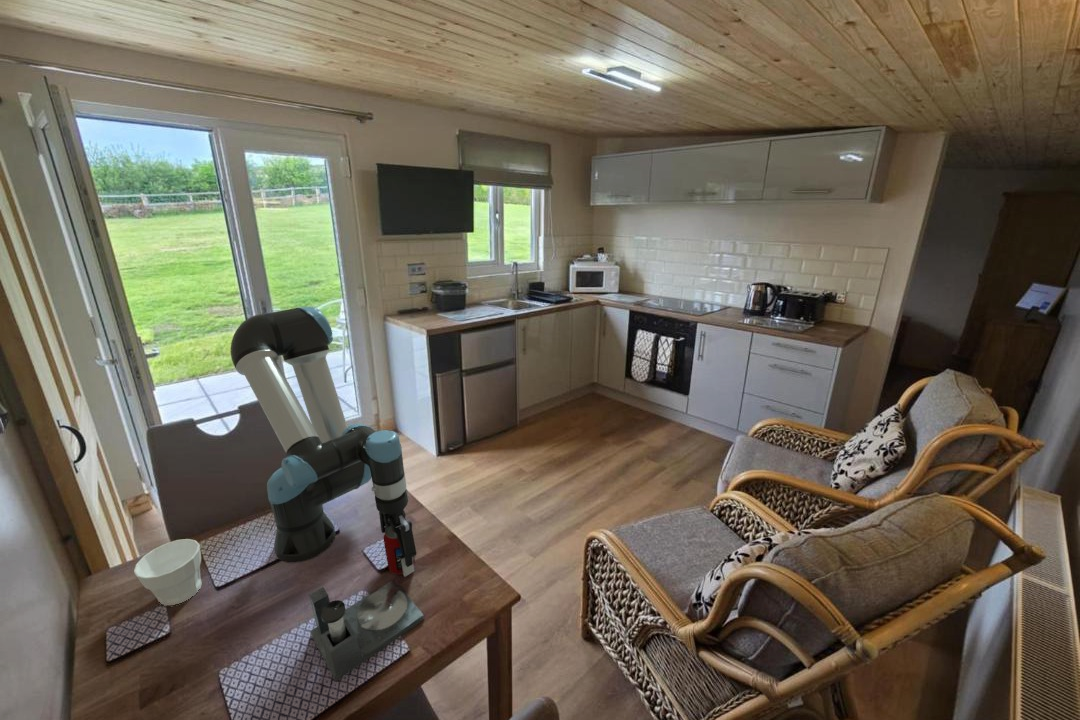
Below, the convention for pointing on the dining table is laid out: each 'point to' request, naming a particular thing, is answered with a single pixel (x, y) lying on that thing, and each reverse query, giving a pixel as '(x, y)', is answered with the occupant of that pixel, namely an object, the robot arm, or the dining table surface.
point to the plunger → (335, 620)
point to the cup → (171, 571)
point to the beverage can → (393, 551)
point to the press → (364, 626)
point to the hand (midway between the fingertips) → (401, 565)
